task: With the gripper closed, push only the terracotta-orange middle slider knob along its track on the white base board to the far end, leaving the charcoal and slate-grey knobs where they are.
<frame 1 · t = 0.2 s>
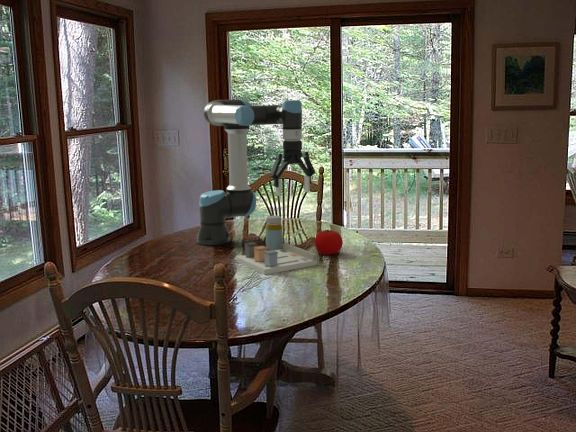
hand: (292, 193, 238), 28 cm above the table, fingers open, 13 cm apart
slider right: (270, 258, 230), point 5 cm above the table, slide at 0.0 cm
slider left: (250, 249, 243), point 5 cm above the table, slide at 0.0 cm
white base board: (275, 263, 241), on the table
bottle: (274, 250, 261), on the table
slider mid: (260, 253, 236), point 5 cm above the table, slide at 0.0 cm
tomato: (328, 254, 254), on the table
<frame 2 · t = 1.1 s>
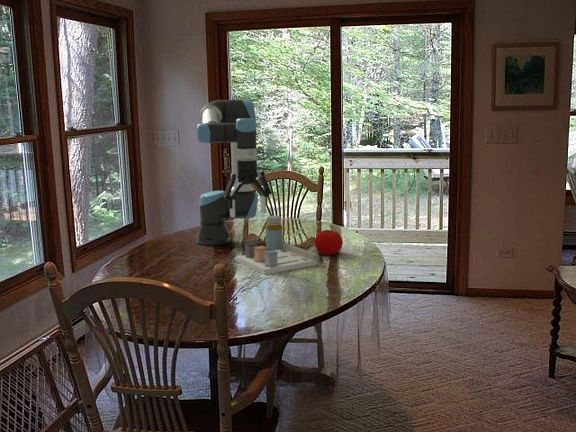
hand: (248, 214, 230), 21 cm above the table, fingers open, 13 cm apart
nothing on the table moved.
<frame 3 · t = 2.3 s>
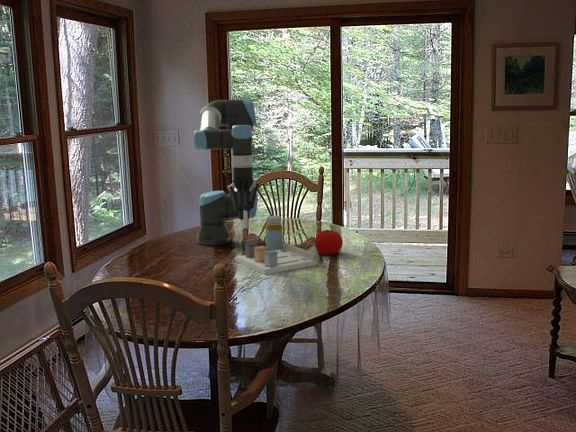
hand: (244, 227, 230), 16 cm above the table, fingers closed
nothing on the table moved.
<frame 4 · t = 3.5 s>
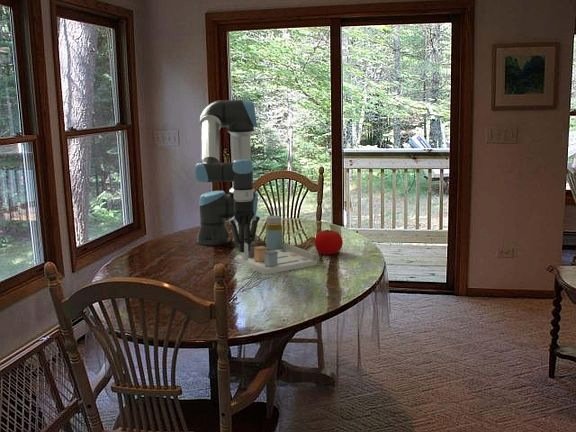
hand: (245, 259, 233), 3 cm above the table, fingers closed
nothing on the table moved.
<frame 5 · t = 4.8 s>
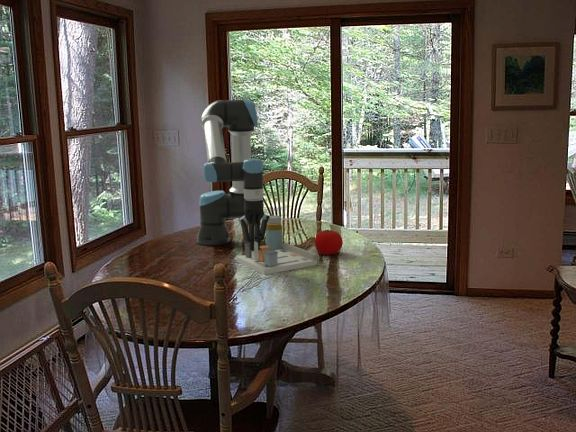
hand: (254, 258, 235), 3 cm above the table, fingers closed
slider mid: (263, 253, 237), point 5 cm above the table, slide at 1.3 cm, touching gripper
everything else where it was.
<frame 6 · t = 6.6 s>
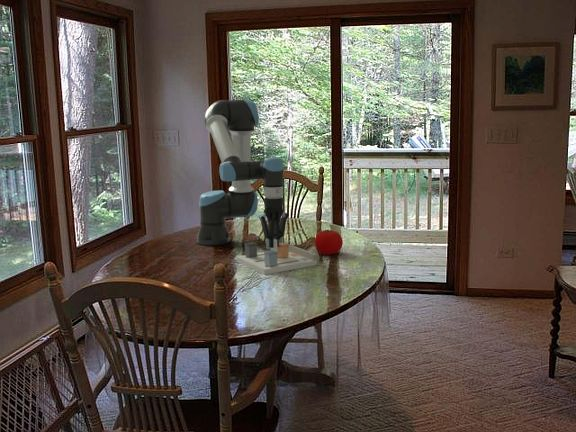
hand: (274, 255, 240), 3 cm above the table, fingers closed
slider mid: (282, 250, 241), point 5 cm above the table, slide at 10.1 cm, touching gripper
everything else where it was.
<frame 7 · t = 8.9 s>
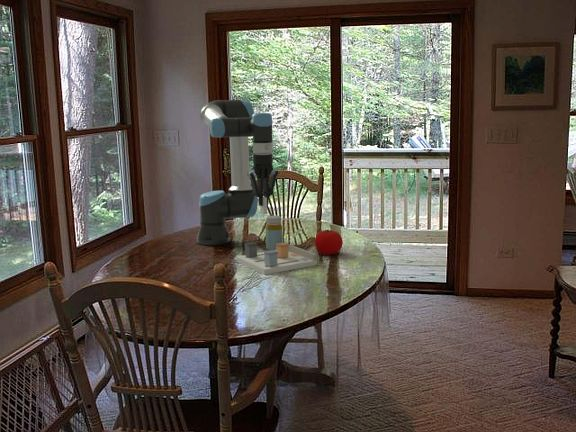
hand: (263, 213, 235), 21 cm above the table, fingers closed
slider mid: (282, 250, 241), point 5 cm above the table, slide at 10.0 cm
everything else where it was.
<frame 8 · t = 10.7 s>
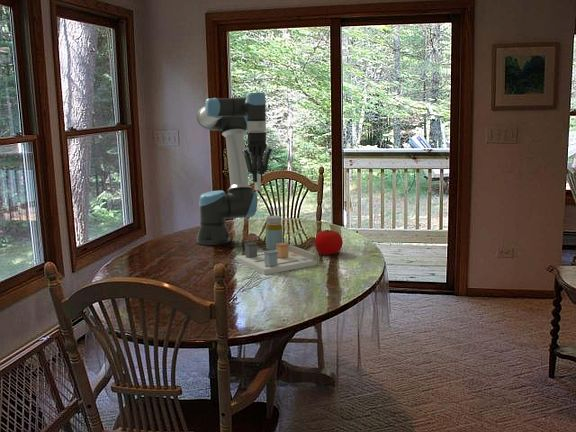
hand: (257, 189, 245), 28 cm above the table, fingers closed
nothing on the table moved.
at the end: slider mid slide at 10.0 cm; slider left slide at 0.0 cm; slider right slide at 0.0 cm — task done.
